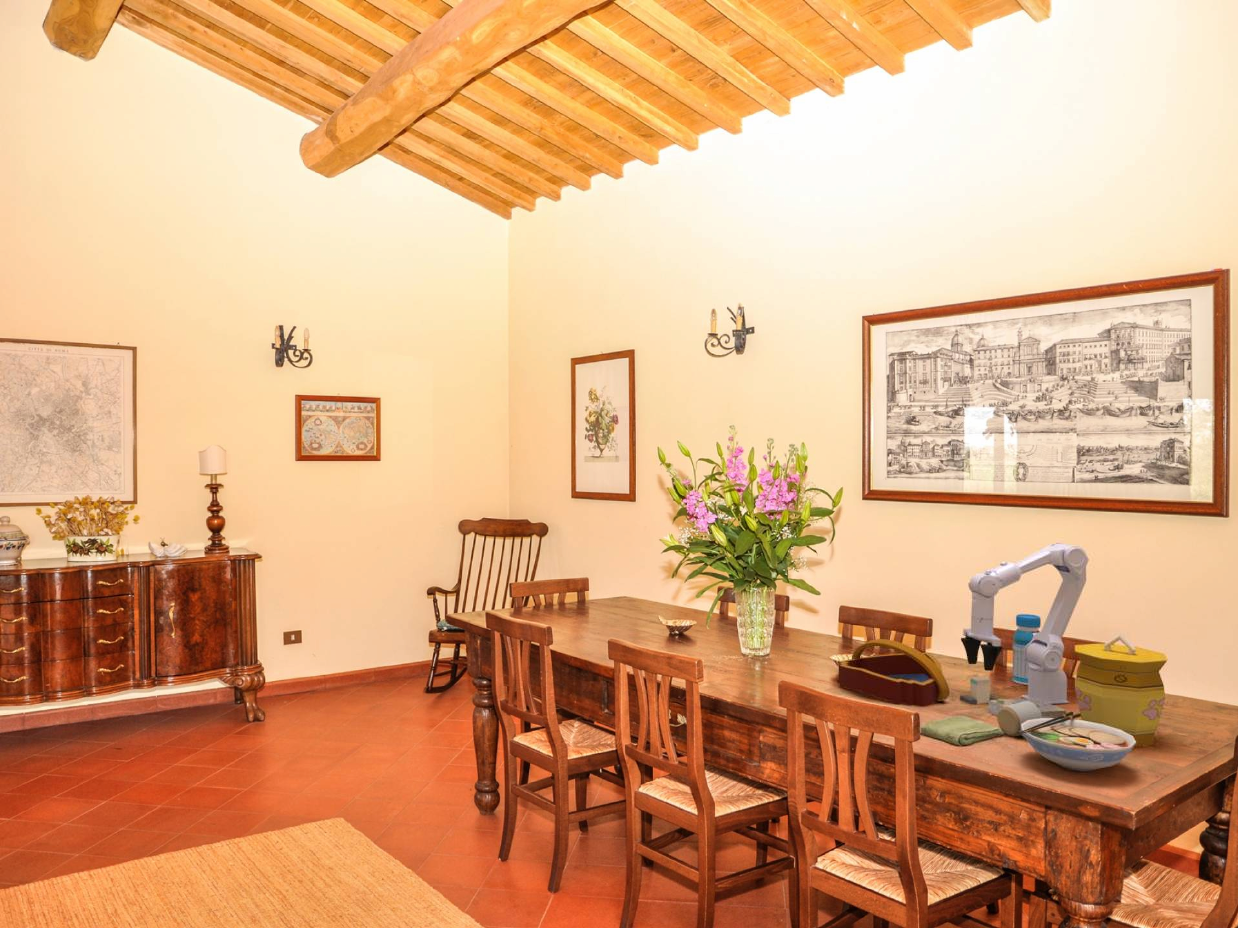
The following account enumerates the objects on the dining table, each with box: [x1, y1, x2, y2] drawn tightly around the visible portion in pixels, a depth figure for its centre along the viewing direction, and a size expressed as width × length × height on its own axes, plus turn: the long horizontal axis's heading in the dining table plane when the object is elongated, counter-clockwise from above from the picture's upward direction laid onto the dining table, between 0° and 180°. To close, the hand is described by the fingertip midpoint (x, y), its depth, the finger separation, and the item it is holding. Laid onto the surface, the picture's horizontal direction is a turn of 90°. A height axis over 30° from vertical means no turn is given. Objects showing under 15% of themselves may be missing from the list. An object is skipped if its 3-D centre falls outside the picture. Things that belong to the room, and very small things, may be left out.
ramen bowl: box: [1017, 711, 1136, 772], centre depth 204 cm, size 25×23×8 cm
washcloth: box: [920, 715, 1005, 747], centre depth 226 cm, size 13×18×3 cm
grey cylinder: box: [996, 701, 1043, 739], centre depth 225 cm, size 11×8×8 cm
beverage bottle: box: [1011, 613, 1041, 686], centre depth 278 cm, size 8×8×20 cm
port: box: [988, 698, 1067, 718], centre depth 241 cm, size 14×12×4 cm
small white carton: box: [969, 676, 991, 704], centre depth 256 cm, size 4×3×6 cm
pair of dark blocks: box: [959, 694, 1000, 705], centre depth 256 cm, size 9×5×1 cm, turn 102°
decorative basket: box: [838, 638, 950, 708], centre depth 266 cm, size 34×29×15 cm
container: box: [1074, 633, 1168, 748], centre depth 226 cm, size 21×21×25 cm
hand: (980, 666), depth 256 cm, fingers open, 7 cm apart
